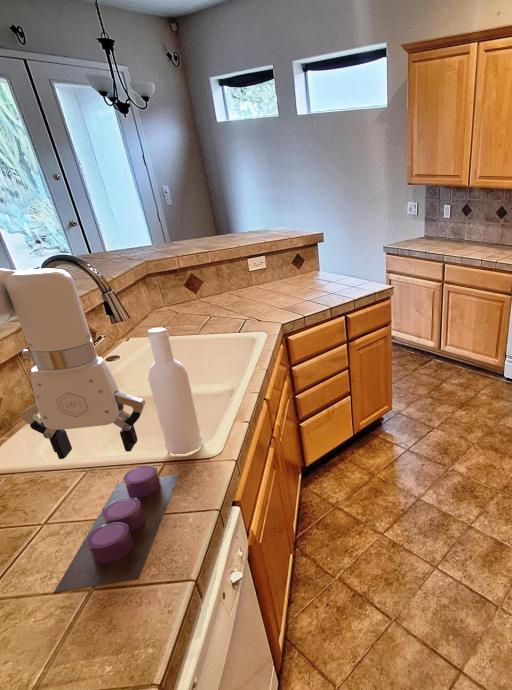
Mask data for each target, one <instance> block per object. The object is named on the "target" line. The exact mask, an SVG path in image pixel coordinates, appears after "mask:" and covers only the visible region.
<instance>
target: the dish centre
mask: <svg viewBox="0 0 512 690" xmlns="http://www.w3.org/2000/svg"><path fill="white" fill-rule="evenodd" d="M103 518H104V521H105V523H106V524H109V523H114V522H122V523H125V524H127V525H128V527H129V530H130V533H131V532H133V531H135V530H136V529H138V528H139V527H140V526H142V524H143V523H144V522H145V515H144V511H143V508H142V505H141V502H140V500H138V499H136V498H125V499H121V500H118V501H116V502H114V503H112V504H110V505H109V506H108V507H106V509H105V510H104V511H103Z"/></svg>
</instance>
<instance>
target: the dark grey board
mask: <svg viewBox="0 0 512 690" xmlns="http://www.w3.org/2000/svg"><path fill="white" fill-rule="evenodd" d="M179 478H180V474H175V475H174V474H173V475H165V476H159V479H160V482H161V486H160V488H159V489H158V490H157V491H156V492H154V493H152V494H150V495H148V496H145V497H139V498H136V499H138V500H140V502H141V505H142V508H143V511H144V515H145V522H144V523H143V524H142V526H140V527H139V528H138V529H136V530H135V531H133V532H131V536H132V539H133V541H134V546H133V548H132V550H131V551H130V552H129V553H128V554H127V555H126V556H125V557H123V558H122V559H120V560H118V561H115V562H112V563H108V564H99V563H97V562H95V561H94V559H93V557H92V554H91V552H90V549H89V547H88V545H87V539H88V537H89V536H90V535H91V534H92V533H93V532H94V531H95V530H96V529H98V528H100V527H102V526H104V525H106V523H105V521H104V518H103V511H104V510H105V509H106V507H108V506H109V505H110V504H112V503H114V502H116V501H118V500H121V499H125V498H135V497H131V496H129V494H128V492H127V489H126V486H125V483H124V480H123V481H118V482H117V483H116V486H115V487H114V489H113V490H112V492H111V493H110V496H109V497H108V498H107V501H106V502H105V504H104V506H103V507H102V509H101V510H100V512H99V514H98V516H97V517H96V519H95V521H94V523H93V525H92V526H91V528H90V529H89V531H88V533H87V535H86V537H85V538H84V540H83V541H82V543H81V544H80V547H79V549H78V550H77V552H76V554H75V555H74V557H73V558H72V560H71V562H70V564H69V565H68V566H67V569H66V571H65V572H64V574H63V576H62V577H61V579H60V580H59V582H58V584H57V585H56V587H55V589H54V591H53V594H54V593H62V592H67V591H74V590H80V589H88V588H91V587H92V588H93V587H99V586H104V585H105V586H106V585H110V584H111V585H112V584H118V583H125V582H131V581H137V580H139V579H140V577H141V575H142V572H143V570H144V567H145V565H146V562H147V560H148V557H149V554H150V552H151V549H152V547H153V544H154V541H155V539H156V536H157V534H158V531H159V528H160V526H161V523H162V522H163V521H162V520H163V518H164V516H165V513H166V511H167V508H168V505H169V503H170V501H171V498H172V495H173V493H174V490H175V488H176V485H177V482H178V480H179Z"/></svg>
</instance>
